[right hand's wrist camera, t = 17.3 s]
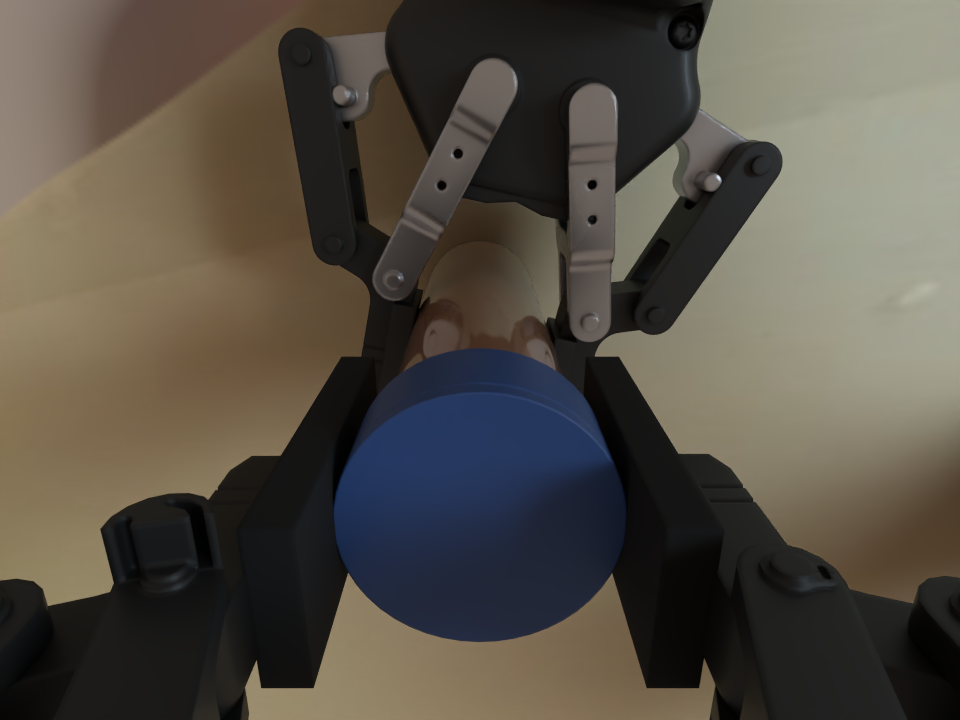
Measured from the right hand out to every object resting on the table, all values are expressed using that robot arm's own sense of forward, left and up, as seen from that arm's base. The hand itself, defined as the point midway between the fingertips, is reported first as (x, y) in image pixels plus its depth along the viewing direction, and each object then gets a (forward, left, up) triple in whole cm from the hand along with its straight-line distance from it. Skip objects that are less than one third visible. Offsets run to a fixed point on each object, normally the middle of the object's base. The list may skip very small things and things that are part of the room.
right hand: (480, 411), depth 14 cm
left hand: (0, -3, -5) cm, 6 cm away
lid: (0, 0, +4) cm, 4 cm away
